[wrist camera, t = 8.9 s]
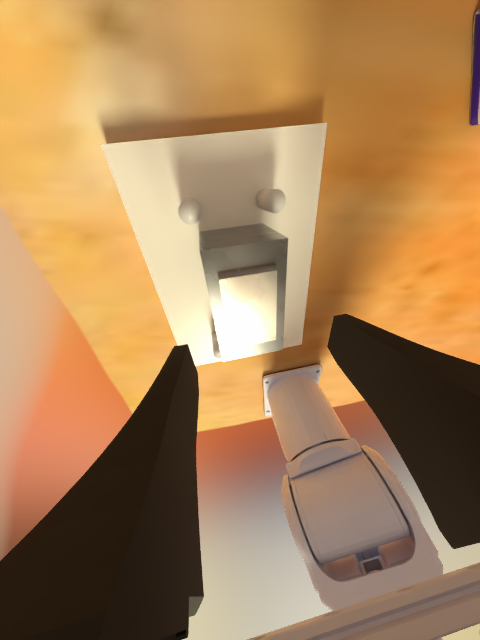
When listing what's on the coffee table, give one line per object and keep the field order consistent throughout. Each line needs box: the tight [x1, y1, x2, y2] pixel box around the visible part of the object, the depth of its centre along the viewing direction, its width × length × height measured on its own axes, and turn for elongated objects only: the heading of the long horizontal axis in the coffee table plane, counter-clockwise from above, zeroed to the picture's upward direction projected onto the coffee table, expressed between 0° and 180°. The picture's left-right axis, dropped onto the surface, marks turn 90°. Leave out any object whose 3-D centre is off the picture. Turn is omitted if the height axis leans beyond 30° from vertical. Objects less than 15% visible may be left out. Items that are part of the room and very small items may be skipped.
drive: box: [199, 223, 288, 362], centre depth 14 cm, size 8×5×5 cm, turn 5°
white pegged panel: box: [101, 123, 327, 366], centre depth 16 cm, size 18×13×4 cm
